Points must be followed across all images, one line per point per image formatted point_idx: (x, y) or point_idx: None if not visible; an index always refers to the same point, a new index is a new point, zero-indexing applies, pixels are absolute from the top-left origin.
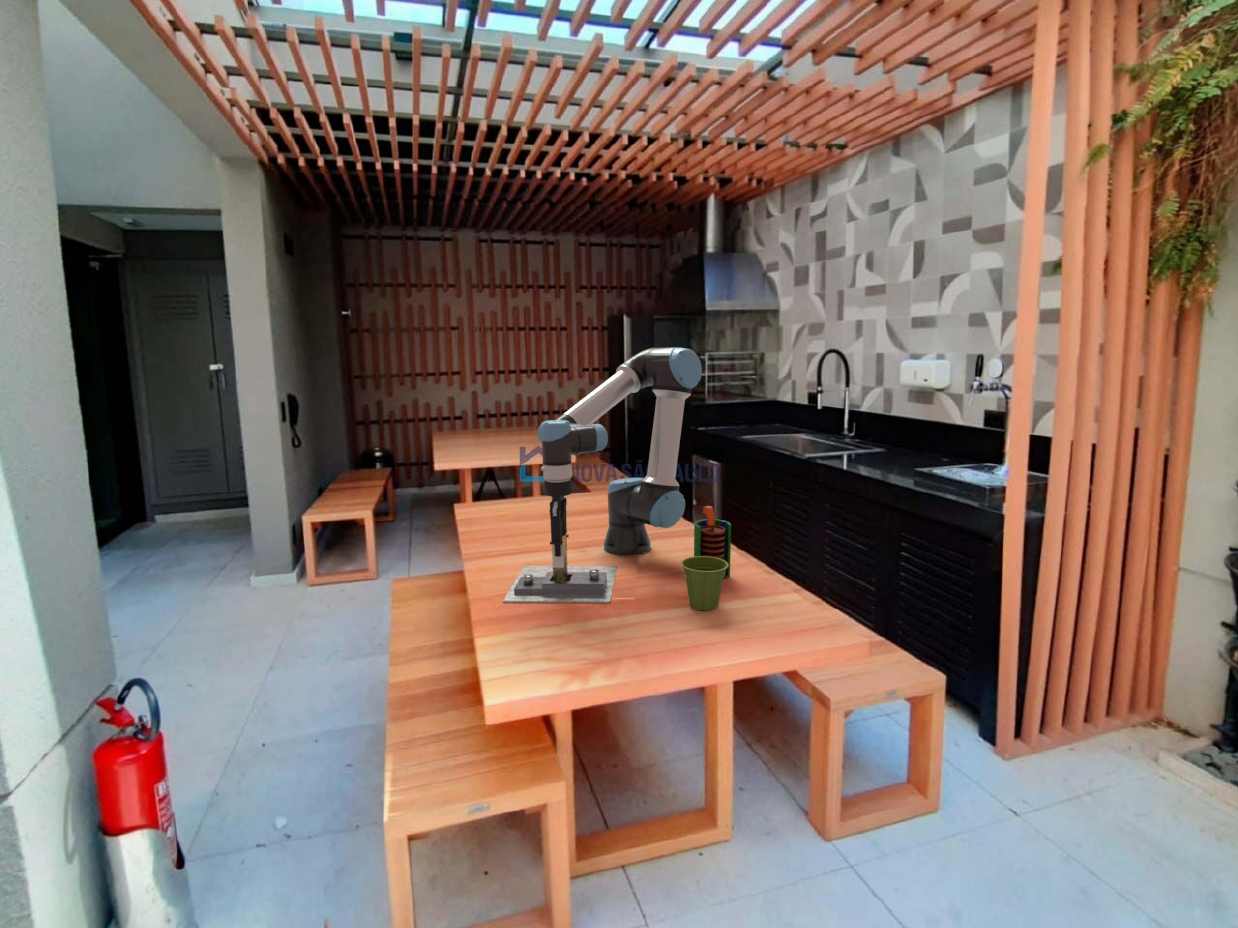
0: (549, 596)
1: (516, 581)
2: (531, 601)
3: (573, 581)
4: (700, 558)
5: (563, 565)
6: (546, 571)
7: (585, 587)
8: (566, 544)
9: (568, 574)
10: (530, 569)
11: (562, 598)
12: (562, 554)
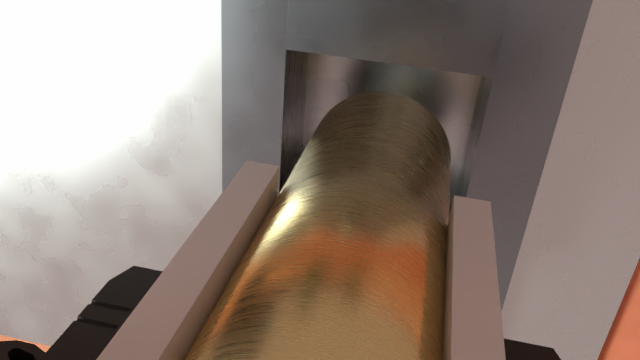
0: (557, 208)
1: None
2: (610, 319)
3: (506, 36)
4: None
5: (491, 217)
6: (47, 214)
7: None
8: (317, 346)
9: (285, 86)
10: (31, 302)
11: (635, 111)
12: (496, 326)
